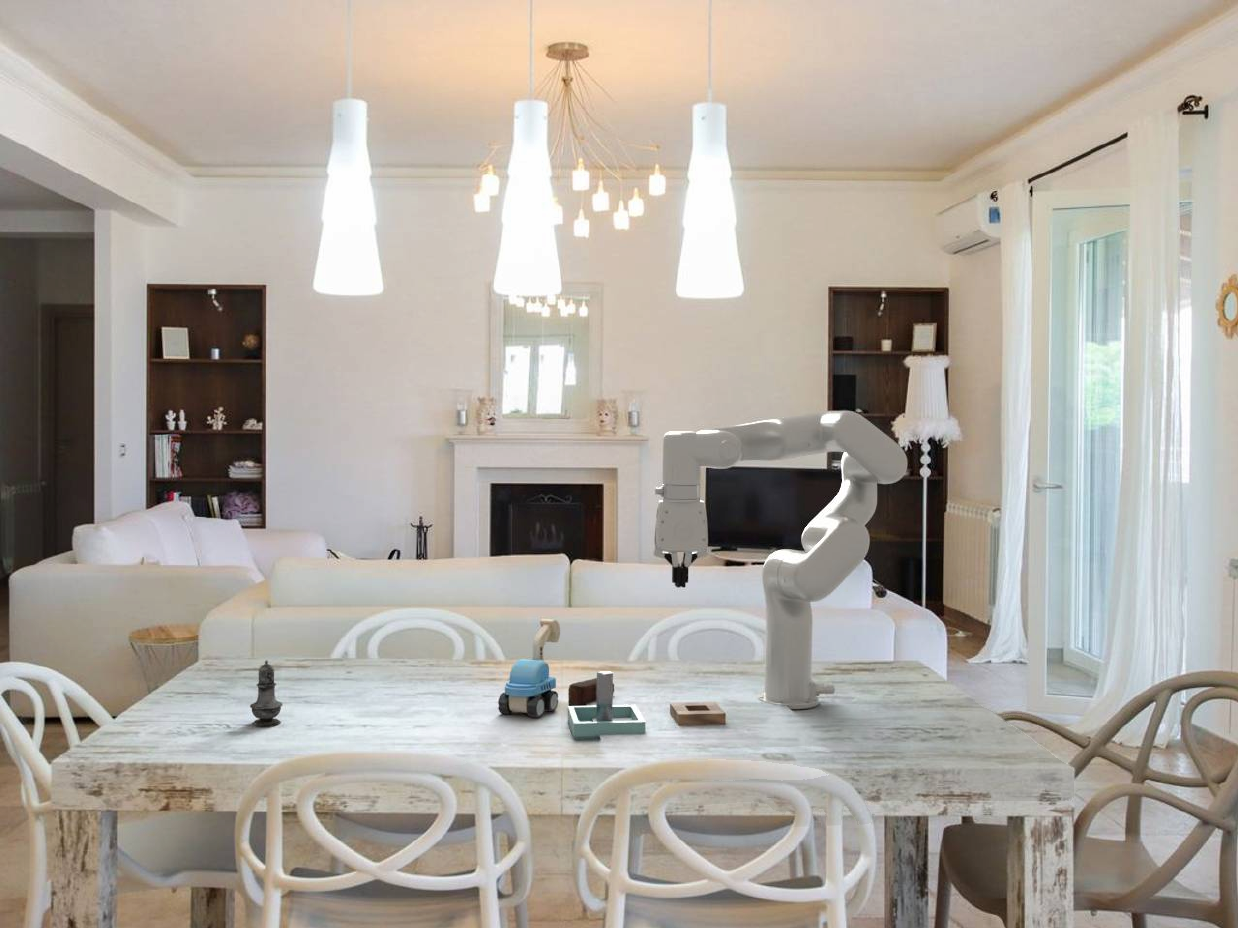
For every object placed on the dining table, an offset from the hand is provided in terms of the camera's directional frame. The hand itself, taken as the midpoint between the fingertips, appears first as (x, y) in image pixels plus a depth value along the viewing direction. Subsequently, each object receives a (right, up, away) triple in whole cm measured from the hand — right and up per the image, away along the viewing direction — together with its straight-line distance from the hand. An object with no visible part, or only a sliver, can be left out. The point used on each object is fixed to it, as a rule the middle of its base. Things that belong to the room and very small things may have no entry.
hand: (680, 586), depth 229 cm
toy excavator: (-29, -25, +2) cm, 38 cm away
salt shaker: (-78, -25, -11) cm, 83 cm away
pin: (-15, -25, -13) cm, 32 cm away
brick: (-18, -25, +8) cm, 32 cm away
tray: (-15, -25, -13) cm, 32 cm away
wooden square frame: (+3, -25, -8) cm, 27 cm away
